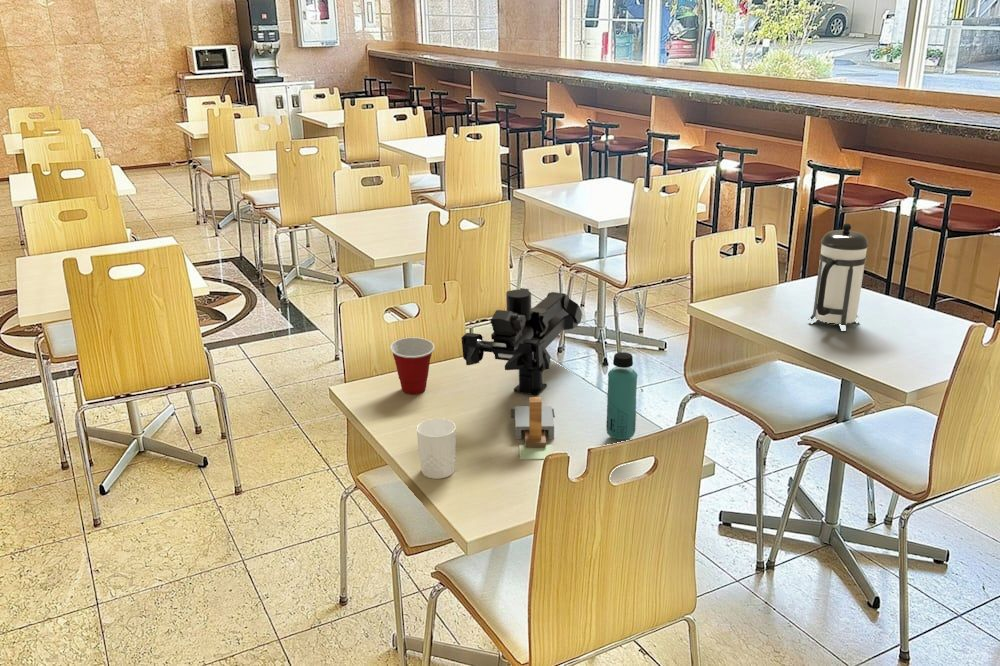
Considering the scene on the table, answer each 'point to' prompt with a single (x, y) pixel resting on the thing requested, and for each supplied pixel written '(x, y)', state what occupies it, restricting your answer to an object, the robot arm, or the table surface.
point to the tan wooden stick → (535, 424)
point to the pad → (534, 452)
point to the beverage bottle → (621, 397)
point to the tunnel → (523, 420)
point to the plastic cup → (412, 362)
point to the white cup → (437, 447)
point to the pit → (514, 413)
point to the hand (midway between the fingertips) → (485, 365)
